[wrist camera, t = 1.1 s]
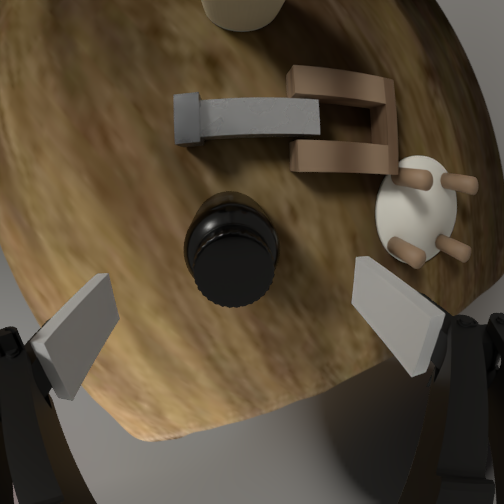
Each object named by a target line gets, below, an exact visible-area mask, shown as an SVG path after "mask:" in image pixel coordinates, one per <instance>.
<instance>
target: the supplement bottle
mask: <svg viewBox="0 0 504 504" xmlns="http://www.w3.org/2000/svg"><path fill="white" fill-rule="evenodd" d="M279 256H280V242H279V237H278V234H277V232H276V229H275V227H274V225H273V224H272V222H271V221H270V219H269V218H268V217H267V215H266V214H265V213H264V212H263V210H262V209H261V208H260V206H259V205H258V204H257V203H256V202H255V201H254V200H253V199H252V198H250V197H249V196H247V195H245V194H242V193H239V192H234V191H226V192H221V193H218V194H215V195H213V196H211V197H210V198H208V199H207V200H206V201H205V202H204V203H203V204H202V205H201V207H200V208H199V210H198V211H197V213H196V215H195V217H194V219H193V221H192V223H191V225H190V227H189V229H188V231H187V234H186V237H185V241H184V258H185V262H186V265H187V268H188V270H189V272H190V274H191V275H192V277H193V278H194V279H195V283H196V284H197V286H198V289H199V290H200V291H201V292H202V294H203V296H205V297H207V299H208V300H210V301H212V302H213V303H214V304H219V305H220V306H222V307H224V306H226V307H229V308H231V307H236V308H238V307H240V306H246V305H248V304H252V303H253V302H254V301H257V300H259V299H260V297H262V296H264V295H265V292H266V291H267V290H269V286H270V285H271V284H272V279H273V277H274V271H275V269H276V267H277V264H278V261H279Z"/></svg>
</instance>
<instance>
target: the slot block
mask: <svg viewBox="0 0 504 504" xmlns="http://www.w3.org/2000/svg"><path fill="white" fill-rule="evenodd" d="M286 89H287V98H300V99H316V100H318V101H319V103H325V104H336V105H345V106H354V107H361V108H369V109H370V120H371V141H372V144H369V143H357V142H344V141H326V140H295V141H292V142H289V152H290V171H295V172H348V173H372V174H389V175H398V129H397V113H396V101H395V91H394V82H393V80H392V79H388V78H383V77H379V76H374V75H369V74H363V73H358V72H352V71H346V70H339V69H331V68H323V67H314V66H302V65H293V66H292V68H291V69H290V70H289V72H288V73H287V75H286Z"/></svg>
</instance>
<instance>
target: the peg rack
mask: <svg viewBox="0 0 504 504" xmlns="http://www.w3.org/2000/svg"><path fill="white" fill-rule="evenodd" d="M455 191H459V192H463V193H467V194H472V195H475V194H476V193H477V191H478V181H477V179H476V178H475V177H472V176H466V175H460V174H453V173H448V172H447V171H446V169H445V168H444V167H443V166H442V165H441V164H440V163H439V162H437V161H436V160H434V159H432V158H430V157H426V156H410V157H407V158H404V159H402V160H400V161H399V162H398V175H389V174H386V176H385V177H384V179H383V181H382V183H381V185H380V188H379V191H378V194H377V199H376V205H375V222H376V228H377V233H378V236H379V239H380V241H381V243H382V245H383V246H384V248H385V249H386V250H387V251H388V253H389V254H390V255H392V256H393V257H394V258H396V259H397V260H399V261H401V262H404V263H407V264H409V265H410V266H412V267H413V268H415V269H419V268H421V267H422V266H423V265H424V263H425V261H427V260H429V259H431V258H432V257H434V256H435V255H436V254H437V253H438V252H439V251H440V250H441V251H443V252H444V253H446V254H448V255H450V256H452V257H454V258H456V259H458V260H460V261H462V262H467V261H468V259H469V258H470V255H471V248H470V246H468V245H466V244H463V243H461V242H459V241H457V240H455V239H452V238H450V235H451V233H452V230H453V227H454V224H455V219H456V213H457V198H456V192H455Z"/></svg>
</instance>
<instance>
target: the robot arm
mask: <svg viewBox="0 0 504 504" xmlns="http://www.w3.org/2000/svg"><path fill="white" fill-rule="evenodd" d="M352 304H353V306H354V307H355V308H356V309H357V310H358V312H359V313H360V314H361V315H362V316H363V318H364V319H365V320H366V321H367V322H368V324H369V325H370V326H371V327H372V328H373V330H374V331H375V332H376V333H377V334H378V336H379V337H380V338H381V339H382V341H383V342H384V343H385V344H386V346H387V347H388V348H389V349H390V350H391V352H392V353H393V354H394V355H395V357H396V358H397V359H398V361H399V362H400V363H401V364H402V366H403V367H404V368H405V369H406V371H407V372H408V373H409V375H410V376H411V377H413V376H416V375H419V374H422V373H425V372H426V370H427V368H428V365H429V363H430V360H431V361H432V362H433V363H434V364H435V368H434V370H433V372H432V375H431V377H430V380H429V382H428V384H427V386H428V387H429V386H430V384H431V386H430V392H429V398H428V403H427V408H426V413H425V418H424V422H423V426H422V431H421V435H420V439H419V442H418V446H417V449H416V453H415V456H414V460H413V463H412V466H411V469H410V472H409V475H408V478H407V480H406V483H405V486H404V489H403V491H402V494H401V496H400V499H399V501H398V503H397V504H493V500H494V494H495V487H496V501H497V504H504V314H503V313H493V314H491V316H490V319H489V321H488V324H485V325H479V324H478V322H477V321H476V320H475V319H473V318H471V317H469V316H466V315H455V316H452V315H451V314H449V313H448V312H447V311H446V310H444V309H443V308H442V307H440V306H439V305H437V303H435V302H434V301H432V300H431V299H430V298H429V297H427V296H426V295H425V294H422V293H420V292H418V291H416V290H414V289H413V288H412V287H410V286H409V285H408V284H406V283H405V282H404V281H402V280H401V279H399V278H398V277H397V276H395V275H394V274H393V273H391V272H390V271H388V270H387V269H386V268H384V267H383V266H381V265H380V264H379V263H377V262H376V261H374V260H373V259H372V258H370V257H369V256H365V257H356V264H355V275H354V285H353V295H352ZM119 319H120V318H119V314H118V311H117V307H116V303H115V299H114V295H113V291H112V286H111V282H110V277H109V273H102V274H96V275H95V276H94V277H93V278H92V279H90V280H89V281H88V282H87V283H86V284H85V285H84V286H83V287H82V288H81V289H80V290H79V291H78V292H77V293H76V294H75V295H74V296H73V297H72V298H71V299H70V300H69V301H68V302H67V303H66V304H65V305H64V306H63V307H62V308H61V309H60V310H59V311H58V312H57V313H56V314H55V315H54V316H53V317H52V318H51V319H49V320H47V321H46V323H45V324H44V325H43V326H42V328H40V329H39V330H38V332H37V333H35V334H34V335H33V336H32V338H31V339H30V340H29V341H28V342H27V343H26V344H25V345H24V344H23V342H22V340H21V338H20V335H19V333H18V330H17V328H15V327H5V328H3V329H1V330H0V504H14V498H13V485H14V488H15V492H16V495H17V499H18V502H19V504H97V503H96V501H95V500H94V498H93V496H92V494H91V493H90V491H89V489H88V487H87V485H86V483H85V481H84V479H83V477H82V475H81V473H80V471H79V469H78V467H77V465H76V462H75V460H74V458H73V456H72V453H71V451H70V449H69V446H68V444H67V441H66V439H65V436H64V433H63V431H62V428H61V425H60V422H59V419H58V416H57V414H56V410H55V407H54V403H53V400H52V398H51V397H50V395H49V391H50V390H51V388H53V389H54V391H55V393H56V395H57V396H58V397H59V398H62V399H67V400H71V401H72V400H73V399H74V397H75V395H76V393H77V391H78V390H79V388H80V386H81V384H82V382H83V380H84V379H85V377H86V375H87V373H88V371H89V369H90V368H91V366H92V364H93V362H94V361H95V359H96V357H97V355H98V354H99V352H100V350H101V349H102V347H103V345H104V344H105V342H106V340H107V339H108V337H109V335H110V334H111V332H112V330H113V329H114V327H115V325H116V324H117V322H118V321H119ZM500 358H501V366H500V368H499V367H498V365H497V364H498V362H499V360H500ZM488 438H489V443H490V448H491V454H492V460H493V467H494V476H495V484H494V482H493V480H488V479H486V478H485V469H486V460H487V448H488Z"/></svg>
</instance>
